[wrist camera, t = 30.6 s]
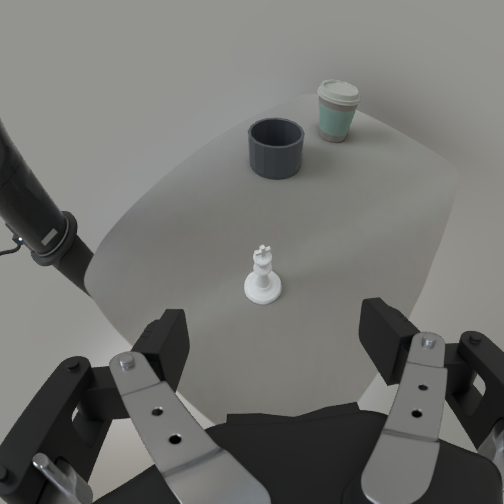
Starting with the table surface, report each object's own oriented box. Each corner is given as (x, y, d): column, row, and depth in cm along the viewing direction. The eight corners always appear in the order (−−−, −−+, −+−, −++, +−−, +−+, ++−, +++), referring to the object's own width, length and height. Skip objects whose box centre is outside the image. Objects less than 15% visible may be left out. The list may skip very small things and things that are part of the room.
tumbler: (253, 181, 47) (251, 150, 41) (247, 149, 51) (245, 120, 45) (306, 177, 47) (310, 146, 41) (294, 145, 52) (296, 116, 46)
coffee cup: (337, 122, 57) (345, 78, 46) (358, 143, 52) (370, 96, 42) (305, 127, 55) (310, 79, 45) (325, 149, 51) (334, 98, 41)
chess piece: (287, 296, 36) (294, 259, 27) (251, 309, 35) (247, 275, 26) (273, 265, 38) (275, 221, 30) (239, 277, 37) (231, 235, 29)
